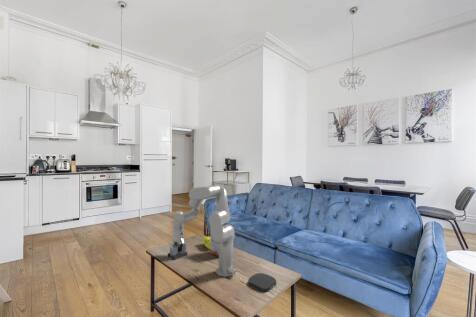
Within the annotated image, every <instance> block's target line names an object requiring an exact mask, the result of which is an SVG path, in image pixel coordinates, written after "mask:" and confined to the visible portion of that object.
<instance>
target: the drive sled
mask: <svg viewBox="0 0 476 317" xmlns="http://www.w3.org/2000/svg"><path fill="white" fill-rule="evenodd" d="M186 256H188V251H186V252H185V253H182V254H179V255H177V256H174V257H173V256H171V255H170V252H168V253H167V257H168V258H170V259H171V260H173V261H176V260H179V259H180V258H183V257H186Z"/></svg>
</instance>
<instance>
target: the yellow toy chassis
mask: <svg viewBox="0 0 476 317" xmlns="http://www.w3.org/2000/svg"><path fill="white" fill-rule="evenodd" d="M202 245H204V247H206V248H207V249H208V250H209V251H210V236H205V235H203V236H202Z"/></svg>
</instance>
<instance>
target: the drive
mask: <svg viewBox="0 0 476 317" xmlns="http://www.w3.org/2000/svg"><path fill="white" fill-rule="evenodd" d="M180 244H181V243H180ZM178 247H179V244H178V243H177V244H174V243H173V244H171V245H170V246H169V253H170V255H171V256H173V257H174V256H177V255H179V254H182V253H185V252H187V251H186V250H187V244H186V242H184V244H183V246H182V251H181V252H178Z"/></svg>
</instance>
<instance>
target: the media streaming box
mask: <svg viewBox="0 0 476 317" xmlns="http://www.w3.org/2000/svg"><path fill="white" fill-rule="evenodd" d="M247 284H248V286H249V287H251V288H252V289H256V290H258V291H260V292H262V293H267V292H270V291H271V290H272V289H273V288H274V287H275V286H276V285H277V280H276V278H275V277H273V276H272V275H269V274H267V273H263V272H260V273H259V272H257V273H255V274H253V275H251V276H250V277H249V278H248V281H247Z"/></svg>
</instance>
